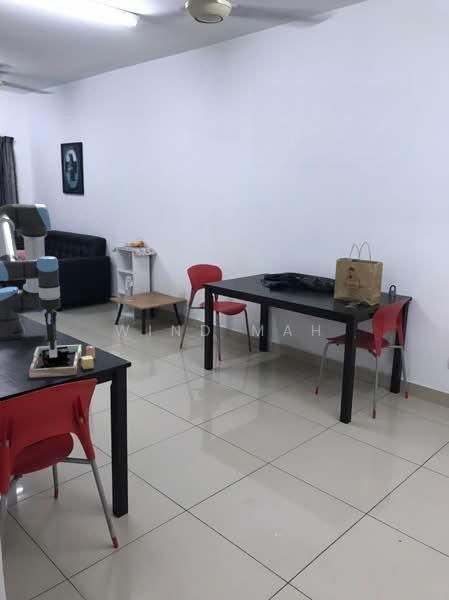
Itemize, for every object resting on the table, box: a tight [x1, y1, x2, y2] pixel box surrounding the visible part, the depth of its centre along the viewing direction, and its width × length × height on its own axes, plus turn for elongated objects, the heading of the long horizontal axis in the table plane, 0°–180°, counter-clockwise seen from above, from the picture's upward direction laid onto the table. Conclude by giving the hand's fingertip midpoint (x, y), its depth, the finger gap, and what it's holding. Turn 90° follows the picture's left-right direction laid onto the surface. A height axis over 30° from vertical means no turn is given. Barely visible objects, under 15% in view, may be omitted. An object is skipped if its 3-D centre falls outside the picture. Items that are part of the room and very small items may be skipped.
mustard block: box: [80, 355, 95, 370], centre depth 193 cm, size 4×4×4 cm
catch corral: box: [33, 344, 83, 360], centre depth 204 cm, size 10×18×3 cm, turn 104°
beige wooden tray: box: [28, 352, 80, 379], centre depth 191 cm, size 18×17×3 cm
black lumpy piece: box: [40, 345, 71, 368], centre depth 195 cm, size 10×7×7 cm
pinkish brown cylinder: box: [85, 345, 96, 360], centre depth 202 cm, size 4×4×5 cm
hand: (53, 356), depth 185 cm, fingers closed
